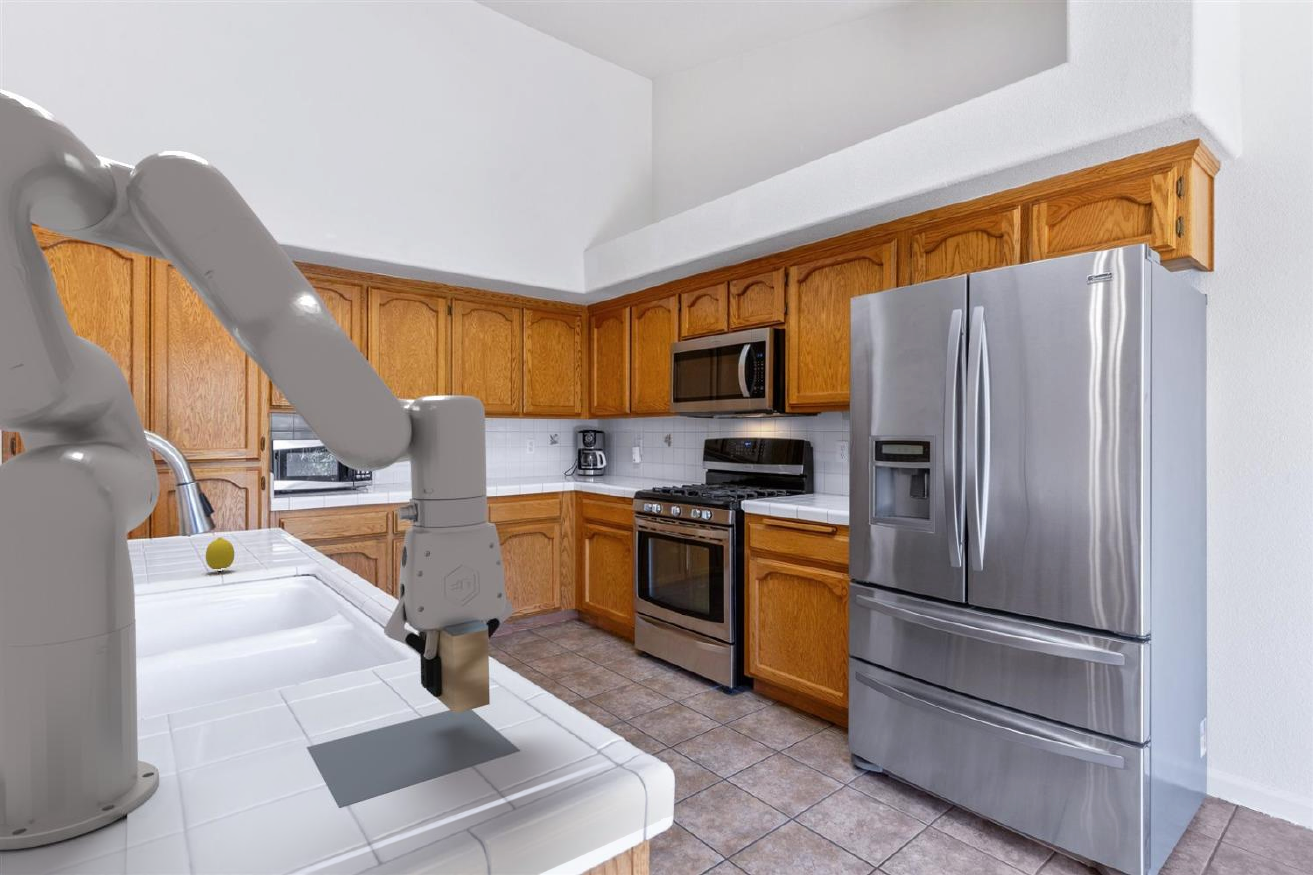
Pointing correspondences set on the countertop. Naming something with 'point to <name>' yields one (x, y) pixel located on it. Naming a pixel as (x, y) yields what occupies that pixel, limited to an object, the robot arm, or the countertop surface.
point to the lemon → (219, 554)
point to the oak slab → (464, 666)
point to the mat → (406, 754)
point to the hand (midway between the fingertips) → (453, 685)
